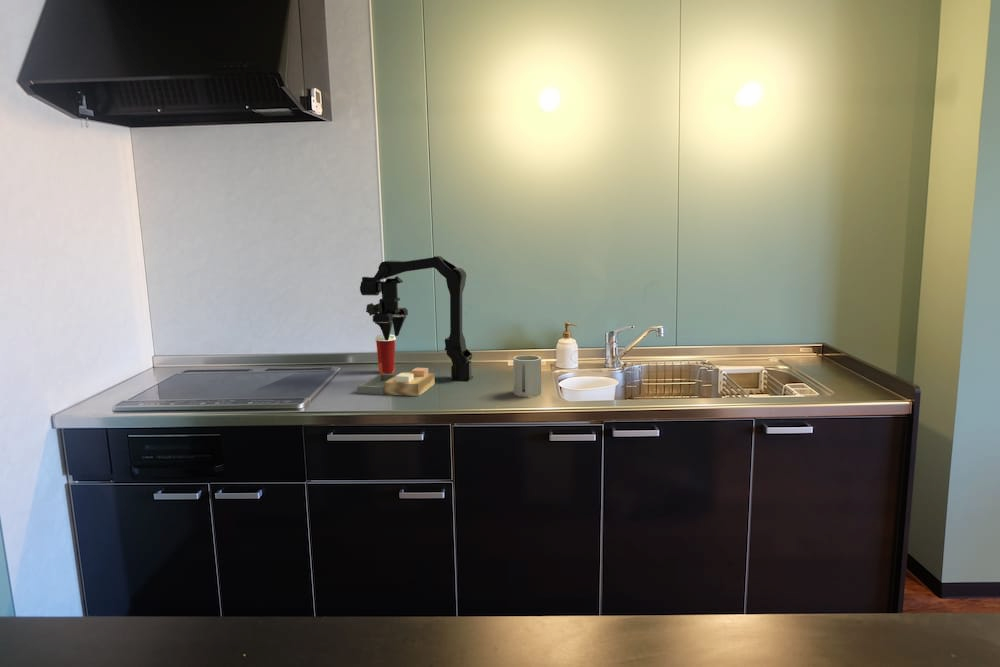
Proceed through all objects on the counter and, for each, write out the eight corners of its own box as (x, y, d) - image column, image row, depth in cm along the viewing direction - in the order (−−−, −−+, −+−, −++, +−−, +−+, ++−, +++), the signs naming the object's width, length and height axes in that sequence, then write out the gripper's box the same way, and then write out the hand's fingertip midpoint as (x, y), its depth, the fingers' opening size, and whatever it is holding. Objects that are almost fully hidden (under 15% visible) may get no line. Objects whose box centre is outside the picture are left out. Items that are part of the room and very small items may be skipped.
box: (403, 381, 244) (403, 375, 243) (383, 394, 226) (382, 387, 226) (380, 380, 246) (379, 373, 245) (358, 393, 228) (357, 385, 228)
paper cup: (401, 371, 261) (399, 334, 258) (389, 375, 254) (388, 338, 251) (383, 369, 264) (382, 333, 262) (372, 373, 257) (370, 336, 255)
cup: (537, 389, 232) (537, 354, 230) (543, 396, 223) (543, 360, 221) (511, 390, 231) (510, 355, 228) (516, 397, 222) (516, 361, 220)
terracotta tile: (428, 373, 238) (428, 368, 238) (424, 376, 234) (423, 371, 234) (416, 373, 239) (416, 367, 239) (411, 376, 235) (411, 370, 235)
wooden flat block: (434, 384, 240) (434, 373, 239) (418, 396, 224) (418, 384, 224) (402, 382, 243) (402, 371, 242) (384, 394, 227) (383, 382, 227)
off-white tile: (413, 379, 230) (413, 373, 230) (408, 382, 226) (408, 376, 226) (401, 378, 231) (400, 373, 231) (396, 381, 227) (395, 376, 227)
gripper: (379, 292, 259) (381, 333, 261) (357, 298, 241) (360, 342, 244) (407, 292, 256) (409, 334, 259) (387, 298, 238) (389, 342, 241)
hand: (391, 338), depth 251 cm, fingers open, 9 cm apart
